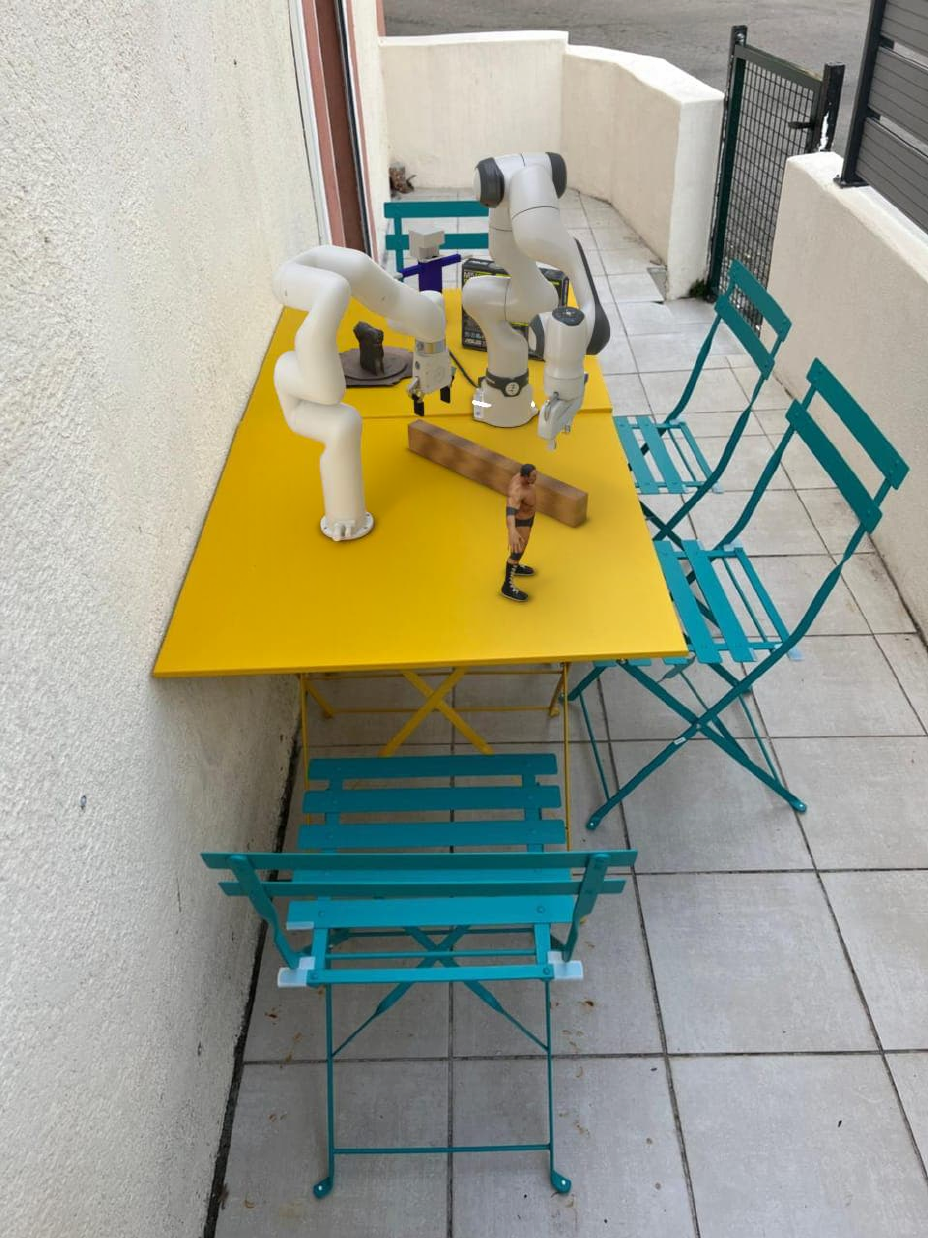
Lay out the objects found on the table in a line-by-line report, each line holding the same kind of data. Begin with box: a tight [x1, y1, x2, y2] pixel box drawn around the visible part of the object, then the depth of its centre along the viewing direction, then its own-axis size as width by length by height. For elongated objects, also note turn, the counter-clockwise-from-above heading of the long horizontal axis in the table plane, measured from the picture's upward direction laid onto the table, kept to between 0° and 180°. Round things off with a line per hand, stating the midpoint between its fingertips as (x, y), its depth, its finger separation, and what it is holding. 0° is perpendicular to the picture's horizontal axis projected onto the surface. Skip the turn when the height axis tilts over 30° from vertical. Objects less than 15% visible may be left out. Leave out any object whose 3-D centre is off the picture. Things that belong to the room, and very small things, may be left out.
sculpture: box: [339, 320, 414, 387], centre depth 273 cm, size 33×35×16 cm
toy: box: [388, 223, 474, 295], centre depth 298 cm, size 35×10×30 cm, turn 130°
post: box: [407, 418, 589, 528], centre depth 224 cm, size 56×5×8 cm, turn 48°
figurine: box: [500, 463, 538, 602], centre depth 184 cm, size 24×6×30 cm, turn 168°
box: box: [460, 257, 570, 362], centre depth 279 cm, size 34×7×27 cm, turn 68°
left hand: (432, 408), depth 228 cm, fingers open, 9 cm apart
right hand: (558, 441), depth 204 cm, fingers open, 8 cm apart
